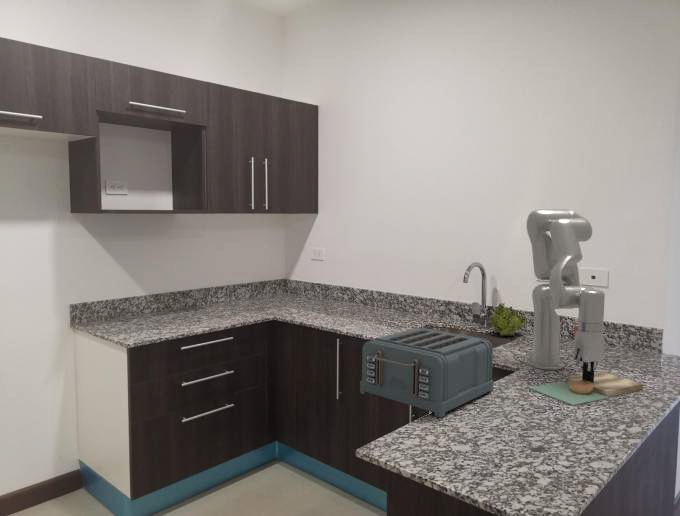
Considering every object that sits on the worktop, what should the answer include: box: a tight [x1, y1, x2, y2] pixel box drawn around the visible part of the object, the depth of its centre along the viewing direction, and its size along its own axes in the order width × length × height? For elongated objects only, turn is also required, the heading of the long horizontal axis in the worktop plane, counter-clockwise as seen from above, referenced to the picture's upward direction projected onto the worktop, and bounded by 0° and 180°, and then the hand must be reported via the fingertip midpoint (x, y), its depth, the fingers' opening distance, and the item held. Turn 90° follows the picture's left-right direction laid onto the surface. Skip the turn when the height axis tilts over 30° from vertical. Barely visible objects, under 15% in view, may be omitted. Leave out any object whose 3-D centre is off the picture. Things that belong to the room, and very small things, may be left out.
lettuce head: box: [490, 302, 527, 337], centre depth 258 cm, size 18×16×16 cm
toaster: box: [359, 327, 494, 418], centre depth 174 cm, size 31×36×18 cm
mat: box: [528, 381, 610, 407], centre depth 176 cm, size 18×16×1 cm
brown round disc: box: [570, 380, 593, 394], centre depth 177 cm, size 7×7×2 cm
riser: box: [564, 370, 644, 398], centre depth 184 cm, size 16×18×2 cm
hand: (587, 381), depth 180 cm, fingers closed
